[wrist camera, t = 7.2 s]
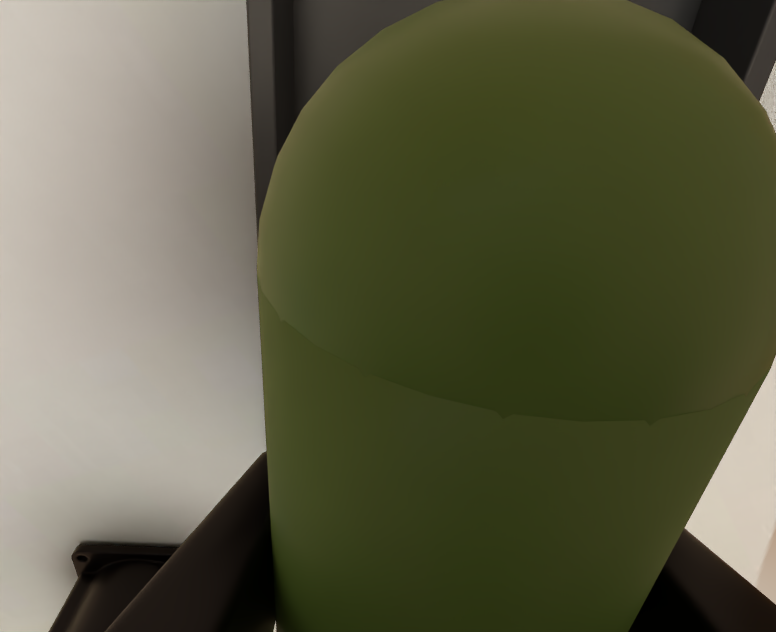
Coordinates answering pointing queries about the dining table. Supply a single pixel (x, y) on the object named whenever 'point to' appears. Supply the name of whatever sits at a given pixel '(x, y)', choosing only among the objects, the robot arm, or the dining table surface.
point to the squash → (508, 316)
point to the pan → (393, 3)
